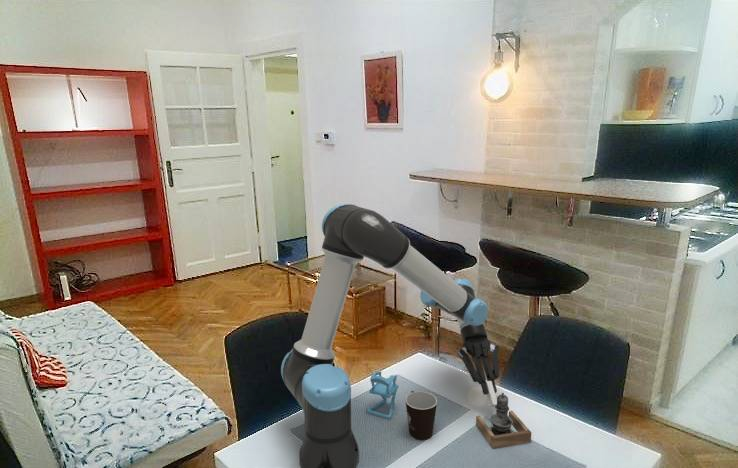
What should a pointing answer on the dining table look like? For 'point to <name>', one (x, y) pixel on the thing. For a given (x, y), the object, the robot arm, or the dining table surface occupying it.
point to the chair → (383, 392)
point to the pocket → (505, 439)
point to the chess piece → (501, 417)
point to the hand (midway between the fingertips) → (493, 405)
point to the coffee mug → (421, 414)
